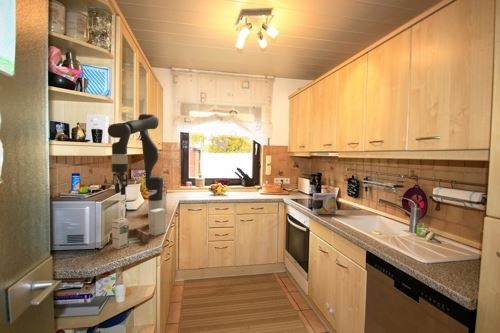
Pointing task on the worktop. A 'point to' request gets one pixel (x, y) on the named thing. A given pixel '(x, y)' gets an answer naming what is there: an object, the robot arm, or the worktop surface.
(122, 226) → the syrup box
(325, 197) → the cake pan box
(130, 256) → the worktop surface
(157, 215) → the skincare box
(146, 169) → the robot arm
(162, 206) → the cracker box
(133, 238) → the arena
